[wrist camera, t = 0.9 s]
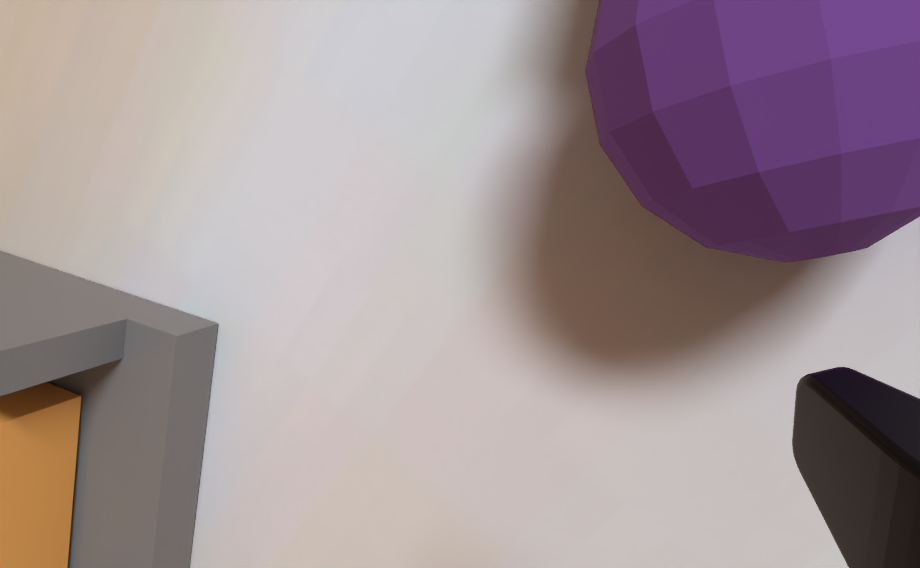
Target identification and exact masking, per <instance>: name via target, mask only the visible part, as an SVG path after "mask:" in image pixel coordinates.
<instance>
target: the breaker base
mask: <svg viewBox="0 0 920 568" xmlns="http://www.w3.org/2000/svg"><path fill="white" fill-rule="evenodd" d="M217 331H218V323H215V322H212V321H209V320H206V319H203V318H200V317H197V316H194V315H191V314H188V313H185V312H182V311H179V310H176V309H173V308H170V307H167V306H164V305H161V304H158V303H155V302H152V301H149V300H146V299H143V298H140V297H137V296H134V295H131V294H128V293H125V292H122V291H119V290H116V289H113V288H110V287H107V286H104V285H101V284H98V283H95V282H92V281H89V280H86V279H83V278H80V277H77V276H74V275H71V274H68V273H65V272H62V271H59V270H56V269H53V268H50V267H47V266H44V265H41V264H38V263H35V262H32V261H29V260H26V259H23V258H20V257H17V256H14V255H11V254H8V253H5V252H2V251H0V396H2V395H6V394H9V393H12V392H15V391H19V390H22V389H25V388H28V387H32V386H35V385H38V384H41V383H45V382H47V383H50V384H52V385H55V386H57V387H60V388H62V389H65V390H67V391H70V392H72V393H75V394H77V395H80V396H81V406H80V419H79V431H78V443H77V456H76V468H75V480H74V492H73V505H72V517H71V529H70V541H69V554H68V566H67V568H189V567H190V558H191V550H192V541H193V533H194V524H195V516H196V508H197V499H198V491H199V482H200V474H201V466H202V457H203V449H204V440H205V432H206V423H207V415H208V407H209V398H210V390H211V381H212V373H213V365H214V356H215V348H216V339H217Z"/></svg>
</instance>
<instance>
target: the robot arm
mask: <svg viewBox="0 0 920 568" xmlns="http://www.w3.org/2000/svg"><path fill="white" fill-rule="evenodd" d="M792 446H793V453H794V457H795V461H796V463H797V466H798V468H799V471H800V473H801V475H802V477H803V479H804V481H805V482H806V484H807V486H808V488H809V490H810V492H811V494H812V496H813V498H814V500H815V502H816V504H817V506H818V508H819V510H820V512H821V514H822V516H823V518H824V520H825V522H826V524H827V526H828V528H829V530H830V532H831V534H832V536H833V538H834V539H835V541H836V543H837V545H838V547H839V549H840V551H841V553H842V555H843V557H844V559H845V561H846V563H847V565H848V567H849V568H920V399H919V398H917V397H914V396H912V395H910V394H908V393H905V392H903V391H901V390H898V389H896V388H894V387H892V386H889V385H887V384H885V383H883V382H880V381H878V380H876V379H874V378H871V377H869V376H867V375H865V374H862V373H860V372H858V371H855V370H853V369H850V368H846V367H837V368H833V369H828V370H824V371H820V372H816V373H811V374H808V375H805V376H804V377H802V378H801V379H800V381H799V383H798V385H797V390H796V400H795V413H794V426H793V438H792Z"/></svg>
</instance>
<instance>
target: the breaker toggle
mask: <svg viewBox="0 0 920 568" xmlns="http://www.w3.org/2000/svg"><path fill="white" fill-rule="evenodd" d="M80 406H81V396H80V395H77V394H75V393H72V392H70V391H67V390H65V389H62V388H60V387H57V386H55V385H52V384H50V383H47V382H45V383H41V384H38V385H35V386H32V387H28V388H25V389H22V390H19V391H15V392H12V393H9V394H6V395H2V396H0V568H67V566H68V554H69V541H70V529H71V517H72V505H73V492H74V480H75V468H76V456H77V443H78V431H79V419H80Z"/></svg>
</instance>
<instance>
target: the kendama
mask: <svg viewBox="0 0 920 568" xmlns="http://www.w3.org/2000/svg"><path fill="white" fill-rule="evenodd" d="M585 72H586V77H587V82H588V87H589V92H590V97H591V102H592V107H593V112H594V117H595V122H596V127H597V132H598V137H599V143H600V145H601V147H602V148H603V150H604V151H605V153H606V154H607V156H608V157H609V158H610V160H611V161H612V163H613V164H614V166H615V167H616V169H617V170H618V172H619V173H620V175H621V176H622V178H623V179H624V181H625V182H626V183H627V185H628V186H629V188H630V189H631V191H632V192H633V194H634V195H635V197H636V198H637V200H638V201H639V203H640V204H641V205H642V206H643V207H644V208H646V209H647V210H649V211H651V212H652V213H654V214H655V215H657V216H658V217H660V218H661V219H663V220H664V221H666V222H668V223H669V224H671V225H672V226H674V227H675V228H677V229H678V230H680V231H682V232H683V233H685V234H686V235H688V236H689V237H691V238H692V239H694V240H695V241H697V242H699V243H700V244H702V245H703V246H705V247H707V248H712V249H717V250H723V251H728V252H733V253H739V254H744V255H749V256H754V257H760V258H765V259H770V260H776V261H781V262H793V261H801V260H807V259H813V258H819V257H825V256H830V255H836V254H841V253H846V252H851V251H855V250H860V249H864V248H868V247H869V246H871V245H873V244H874V243H876V242H878V241H879V240H881V239H883V238H884V237H886V236H888V235H889V234H891V233H893V232H894V231H896V230H898V229H899V228H901V227H903V226H904V225H906V224H908V223H909V222H911V221H913V220H914V219H916V218H918V217H919V216H920V0H600V1H599V6H598V11H597V16H596V21H595V26H594V31H593V36H592V41H591V46H590V51H589V56H588V61H587V66H586V71H585Z"/></svg>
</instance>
